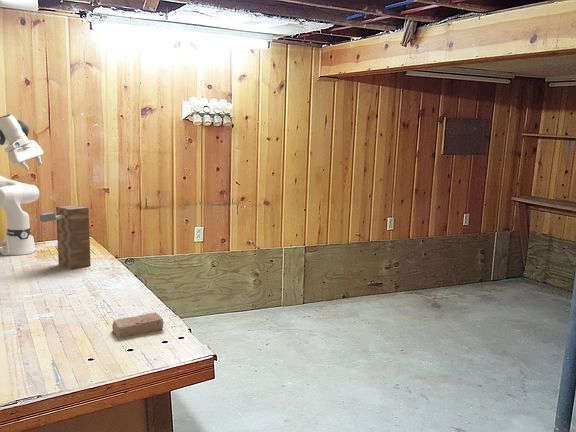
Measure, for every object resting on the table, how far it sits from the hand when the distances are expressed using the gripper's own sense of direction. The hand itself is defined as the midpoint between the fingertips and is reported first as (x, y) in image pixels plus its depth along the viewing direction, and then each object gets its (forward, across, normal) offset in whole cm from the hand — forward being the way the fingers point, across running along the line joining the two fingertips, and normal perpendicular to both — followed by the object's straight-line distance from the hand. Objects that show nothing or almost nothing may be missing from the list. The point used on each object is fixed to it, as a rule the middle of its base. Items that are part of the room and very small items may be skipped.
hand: (34, 167), depth 275 cm
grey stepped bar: (+29, +17, +11) cm, 35 cm away
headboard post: (+55, +15, +3) cm, 57 cm away
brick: (+74, +84, +79) cm, 137 cm away
